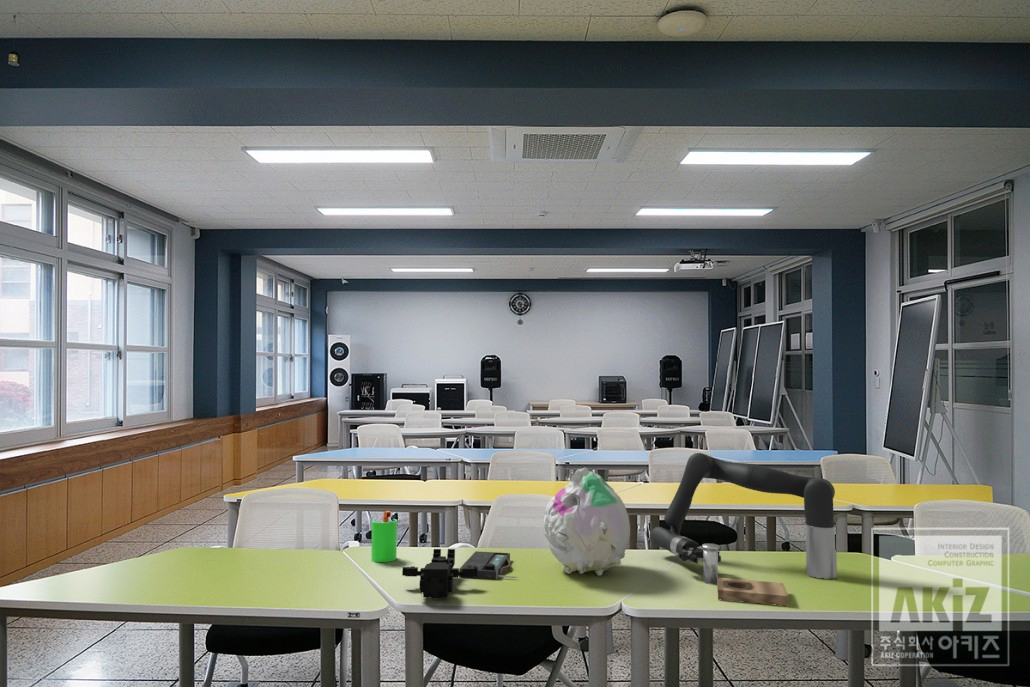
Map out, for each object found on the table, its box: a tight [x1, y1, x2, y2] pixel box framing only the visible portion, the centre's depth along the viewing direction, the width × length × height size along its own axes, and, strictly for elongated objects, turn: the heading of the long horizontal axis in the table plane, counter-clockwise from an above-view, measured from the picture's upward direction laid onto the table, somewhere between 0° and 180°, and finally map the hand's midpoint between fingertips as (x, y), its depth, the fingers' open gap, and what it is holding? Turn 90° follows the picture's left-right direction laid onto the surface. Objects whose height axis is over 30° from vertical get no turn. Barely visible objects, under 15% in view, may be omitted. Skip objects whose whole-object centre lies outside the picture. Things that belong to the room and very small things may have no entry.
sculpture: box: [543, 467, 631, 577], centre depth 234 cm, size 33×36×30 cm
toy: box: [401, 548, 478, 599], centre depth 210 cm, size 24×10×30 cm
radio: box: [458, 551, 519, 580], centre depth 234 cm, size 25×4×20 cm
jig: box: [716, 576, 789, 607], centre depth 206 cm, size 20×14×3 cm
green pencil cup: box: [370, 510, 398, 563], centre depth 246 cm, size 9×8×18 cm
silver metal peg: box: [701, 543, 720, 584], centre depth 222 cm, size 5×5×12 cm
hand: (708, 559), depth 223 cm, fingers open, 8 cm apart
